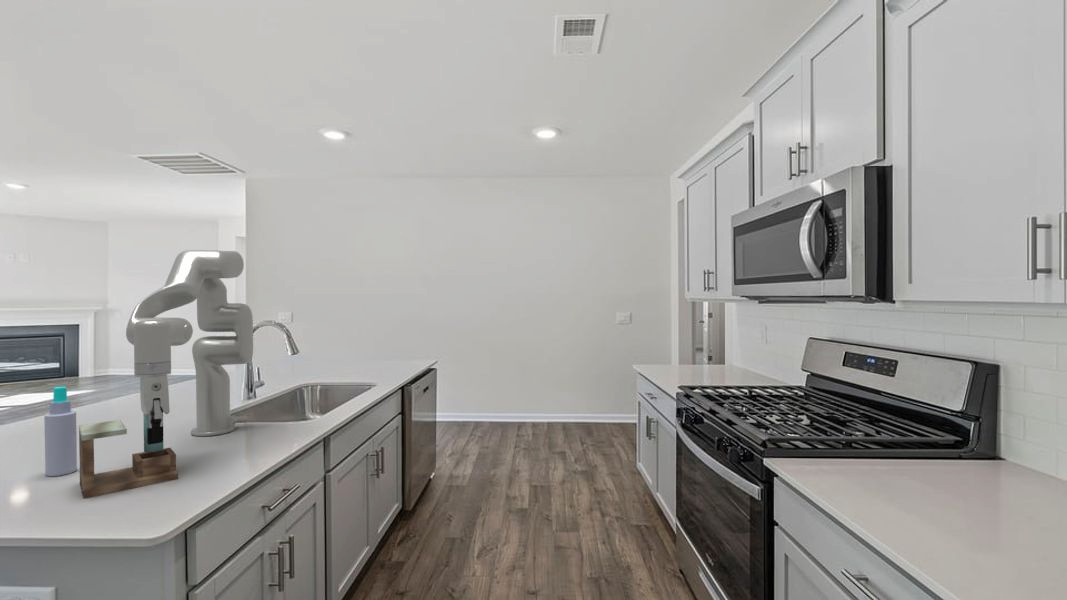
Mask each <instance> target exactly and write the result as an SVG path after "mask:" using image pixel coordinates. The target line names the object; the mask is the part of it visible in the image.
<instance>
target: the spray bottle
mask: <svg viewBox="0 0 1067 600" xmlns="http://www.w3.org/2000/svg"><path fill="white" fill-rule="evenodd" d="M67 389H68V388H67V386H57V387H53V401H51V402H49V412H48V413H46V414H44V462H45V464H44V468H45V470H44V471H45V473H44V474H45V476H47V477H60V476H65V474H66V475H69V473H70V474H72V473H74V472H76V471H77V470H78V451H77V450H78V445H77V444H78V443H77V442H78V441H77V440H78V439H77V435H78V434H77V412H76V410H72V406H71V400H70V399H68V398H67V397H68V393H67V392H68V391H67Z"/></svg>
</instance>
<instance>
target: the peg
mask: <svg viewBox="0 0 1067 600" xmlns="http://www.w3.org/2000/svg"><path fill="white" fill-rule="evenodd" d="M162 410H163V409H162ZM150 412H151V411H150ZM142 414H143V417H142V418H143V452H155V451H160V450H162V449H165V448H164V441H163V442H162V443H156V444H150V445H149V444H148V443H147V428H149V424H148V416H146V415H145V414H144V413H143V412H142ZM151 415H154V413H151ZM152 419H153V418H152ZM162 421H163V422H164V412H163V411H162Z"/></svg>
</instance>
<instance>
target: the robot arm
mask: <svg viewBox="0 0 1067 600" xmlns="http://www.w3.org/2000/svg"><path fill="white" fill-rule="evenodd" d="M244 265H245V263H244V259H243V256H242V255H241V254H240V253H239V252H238V251H235V250H215V249H214V250H213V249H211V250H206V249H205V250H203V249H189V250H185V251H181V252H180V253H178V254H177V256H176V257H175V260H174V261H173V265H172V267H171V269H170V271H169V274H168V276H167V278H166V281H165V283H164V285H163V286H162V287H161V288H159V289H157V290H155V291H153V292H152V293H150V294H149V295H147V296H146V297H144V298H143V299H141V300H140V301H139V302H138V303H137V304H136V305H135V307H134V309H133V310H132V312H131V315H130V318H129V320H128V322H127V325H126V328H125V329H126V330H125V336H126V340H127V341H128V343H130V344H131V345H132V346H133V356H134V357H133V360H134V363H133V364H134V365H133V370H134V371H133V372H134V373H133V374H134V377H136V378H137V377H138V378H139V393H140V399H139V400H140V409H141V412H142V414H143V413H144V414H145V415H146V416H148V424H149V428H147V443H148V444H149V445H150V444H156V443H162V442H163V443H164V420H163V421H162V411H163V414H165V415H168V414H170V411H171V410H170V409H171V408H170V395H169V394H170V393H169V392H170V390H169V380H168V375H172V351H171V350H172V347H174V346H175V347H178V346H182V345H185V344H187V343H188V342H189V341H190V340H191V338H192V336H193V332H194V331H193V326H192V324H191V323H190V321H189V320H188V319H185V318H182V317H157V316H159V315H160V314H163V313H165V312H169V311H170V310H174V309H178V308H180V307H183V306H186V305H189V304H191V303H193V302H195V301H196V314H197V315H196V317H197V326H198V328H199V330H201V331H203V332H206V333H235V335H227V336H226V335H209V336H203V337H200V338H198V339H196V340H194V342H193V344H192V347H191V348H192V349H191V352H192V353H191V354H192V359H193V363H194V369H195V392H196V393H195V394H196V395H195V396H196V397H195V401H196V403H195V405H196V407H195V408H196V410H195V411H196V412H195V413H196V416H195V417H196V427H194V428H192V429H191V431H190V435H192V436H196V437H212V436H218V435H223V434H228V433H231V432H233V431H235V430H236V424H238V423H244V422H245V423H246V422H247V416H246V415H243V416H241V415H240V416H238V415H237V416H233V415H231V383H230V382H231V380H230V375H229V374H228V372H227V370H226V369H225V368H224V367H223V366H226V365H227V366H228V365H245V364H248V363H250V361H251V360H252V359H253V355H254V320H253V318H254V317H253V311H252V309H251V307H250V306H249V305H248V304H245V303H241V302H240V303H239V302H238V303H237V302H236V303H235V302H234V303H231V302H230V303H229V302H228V296H227V295H228V294H227V293H228V292H227V291H228V290H227V287H226V285H225V283H224V282H223V281H222V280H221V279H233V278H238V277H239V276H241V274H242V273H243V271H244V267H245V266H244ZM162 409H163V410H162ZM150 411H151V412H150ZM151 413H154V415H151ZM152 418H153V419H152Z"/></svg>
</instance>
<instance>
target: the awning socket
mask: <svg viewBox="0 0 1067 600" xmlns="http://www.w3.org/2000/svg"><path fill="white" fill-rule="evenodd" d="M127 430H128V429H127V427H126V426H125V424H124V422H123V420H122V419H117V420H116V419H115V420H110V421H108V420H107V421H103V422H95V423H87V424H79V425H78V434H79V435H78V439H79V440H78V441H79V443H78V447H79V451H78V453H79V454H78V455H79V485H80V486H79V487H80V490H82V491H81V494H82V495H81V496H82V498H83V499H87V498H92V497H97V496H102V495H106V494H111V493H116V492H121V491H125V490H130V489H136V488H140V487H146V486H150V485H155V484H160V483H164V482H170V481H174V480H179V472H178V470H177V454H176V452H175V451H174V450H173V449H172V448H171V447H165V448H163V449H162V450H160V451H155V452H144V451H142V452H137V453H132V455H131V456H132V457H131V458H132V459H131V461H132V462H131V463H132V467H126V468H120V469H115V470H110V471H103V472H97V473H95V441H94V440H96V439H103V438H109V437H117V436H123V435H127V434H128V431H127Z"/></svg>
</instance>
